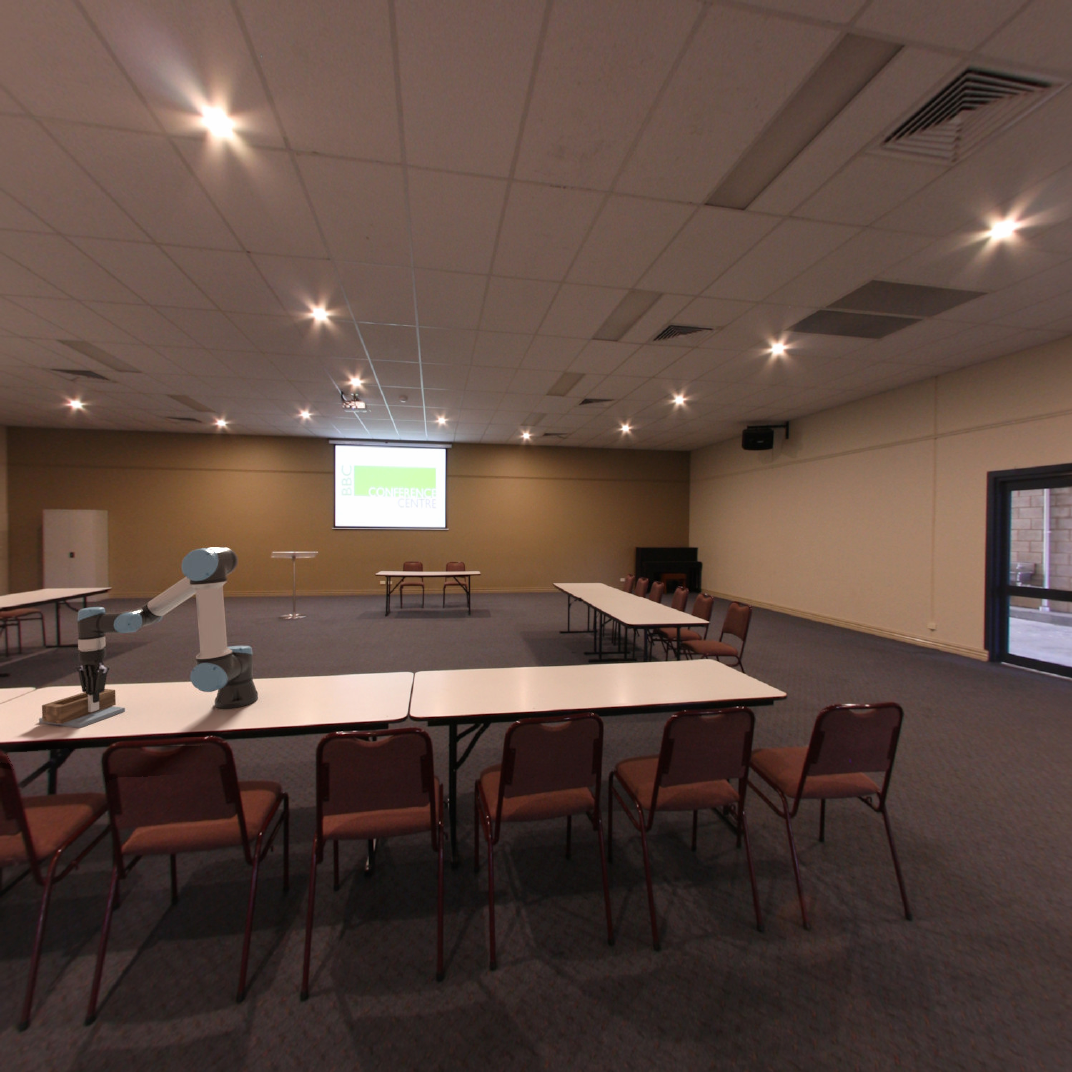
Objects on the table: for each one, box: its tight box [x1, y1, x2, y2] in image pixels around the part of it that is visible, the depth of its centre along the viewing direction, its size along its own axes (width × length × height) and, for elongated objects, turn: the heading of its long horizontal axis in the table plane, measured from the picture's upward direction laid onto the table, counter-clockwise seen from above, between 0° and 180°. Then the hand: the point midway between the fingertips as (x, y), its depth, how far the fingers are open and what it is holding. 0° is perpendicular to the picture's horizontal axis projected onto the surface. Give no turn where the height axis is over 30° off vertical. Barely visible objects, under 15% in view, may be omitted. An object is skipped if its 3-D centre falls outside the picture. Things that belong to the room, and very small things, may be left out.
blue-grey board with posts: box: [38, 705, 126, 729], centre depth 178 cm, size 20×15×5 cm
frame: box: [41, 688, 117, 724], centre depth 178 cm, size 9×18×6 cm, turn 167°
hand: (93, 710), depth 177 cm, fingers closed
